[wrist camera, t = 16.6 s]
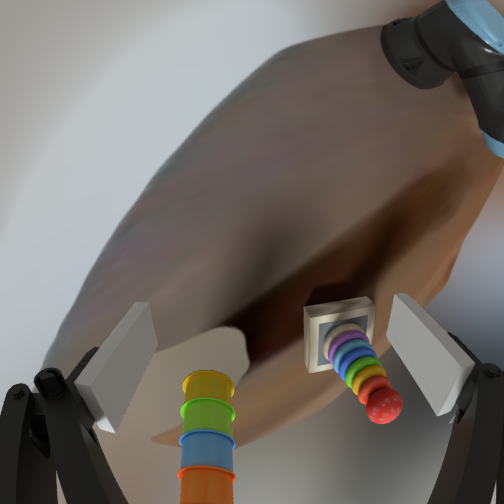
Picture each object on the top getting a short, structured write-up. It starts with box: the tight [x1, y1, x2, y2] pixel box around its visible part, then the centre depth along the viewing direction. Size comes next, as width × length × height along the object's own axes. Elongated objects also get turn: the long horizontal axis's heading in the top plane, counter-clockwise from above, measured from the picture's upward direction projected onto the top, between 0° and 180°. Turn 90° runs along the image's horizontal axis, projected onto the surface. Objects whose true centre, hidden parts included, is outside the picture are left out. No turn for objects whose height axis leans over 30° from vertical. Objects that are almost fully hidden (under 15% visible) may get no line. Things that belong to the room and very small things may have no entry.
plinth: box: [304, 296, 376, 373], centre depth 46 cm, size 12×12×4 cm
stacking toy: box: [323, 324, 402, 424], centre depth 35 cm, size 8×8×19 cm
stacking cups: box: [178, 370, 236, 504], centre depth 33 cm, size 10×10×35 cm
